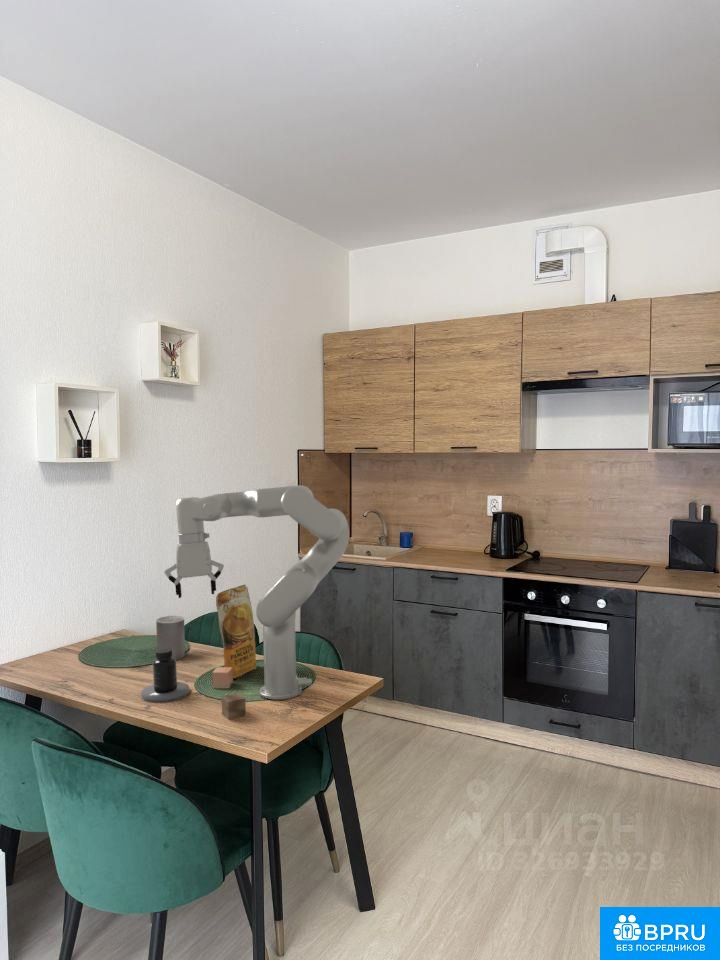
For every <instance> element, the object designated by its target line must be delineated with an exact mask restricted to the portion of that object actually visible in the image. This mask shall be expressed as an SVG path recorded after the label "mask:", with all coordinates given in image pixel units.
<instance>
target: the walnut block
mask: <svg viewBox="0 0 720 960" xmlns="http://www.w3.org/2000/svg"><path fill="white" fill-rule="evenodd" d="M246 704H247V703H246V698H245V696H243V694H241V693H240V692H236V693H232V694H227V695H224V696H221V715H222V716H224V717H225V718H226V719H227V720H228V721H230V720H234V719H239V718H242V717H246V716H247V709H246V706H247V705H246Z"/></svg>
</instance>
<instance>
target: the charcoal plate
mask: <svg viewBox="0 0 720 960" xmlns="http://www.w3.org/2000/svg"><path fill="white" fill-rule="evenodd" d="M189 693H190V685H189V684H188V683H185V682H180V681H177V689H176V690H174V691H172V692H169V693H157V692H155V691H154V684H151V685H148V686H146V687H145V688H143V689H142V690H141V691H140V697H142V698H141V699H142V700H143V699H144V701H145V700H146V702H149V701H151V702H150V703H165V702H167V703H168V702H172V701H177V700H179V699H182V698H184V697H186V696H188V694H189Z"/></svg>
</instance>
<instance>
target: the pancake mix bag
mask: <svg viewBox="0 0 720 960" xmlns="http://www.w3.org/2000/svg"><path fill="white" fill-rule="evenodd" d="M248 589H249V588H248V586H246V584H242V585H238V586H236V587H233V588H229V589H226V590H223V591H220V592H218V593H217V595H216V597H215V605H216V606H215V607H216V611H217V617H218V627H219V632H220V635H221V639H222V647H223V648H222V649H223V659H224V661H223V662H224V666H223V667H232V672H233V678H235V679H237V678H236V677H238V678H240V677H242V676H241V675H243V674H245V673H247V672H249V671H251V670H253V669H255V668H256V669H257V660H256V658H257V657H256V652H257V651H256V640H255V637H256V636H255V623H254V613H253V607H252V603H251V602H252V601H251V599H250V593H249V590H248ZM256 669H255V670H256ZM253 671H254V670H253ZM251 672H252V671H251ZM249 673H250V672H249ZM247 674H248V673H247ZM245 675H246V674H245ZM239 676H240V677H239ZM243 676H244V675H243Z"/></svg>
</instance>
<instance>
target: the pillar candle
mask: <svg viewBox="0 0 720 960" xmlns="http://www.w3.org/2000/svg"><path fill="white" fill-rule="evenodd" d="M155 621H156V624H155V625H156V651H157V650H159V649H166V648H168V649H172V654H173V656H172V657H173V658H174V659H175V660H176V661H177V660H181V659H183V658H184V657H185V656H186V646H185V645H186V638H185V617H183V616H180V615H168V616H166V615H165V616H162V617H158V618H157V619H156V620H155Z"/></svg>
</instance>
